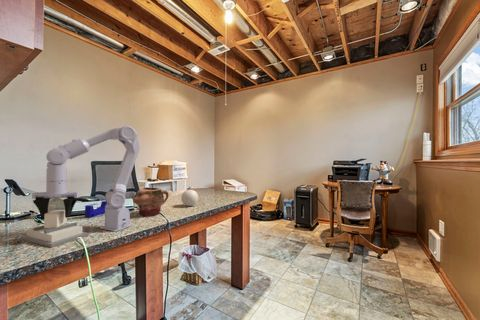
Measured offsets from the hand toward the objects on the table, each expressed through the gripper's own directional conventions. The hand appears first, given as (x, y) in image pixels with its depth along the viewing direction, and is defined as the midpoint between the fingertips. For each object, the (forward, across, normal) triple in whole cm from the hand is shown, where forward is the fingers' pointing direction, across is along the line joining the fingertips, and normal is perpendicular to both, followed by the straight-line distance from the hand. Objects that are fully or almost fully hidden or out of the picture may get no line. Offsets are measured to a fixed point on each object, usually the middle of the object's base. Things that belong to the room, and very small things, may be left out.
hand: (56, 217), depth 80 cm
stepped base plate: (+8, 0, 0) cm, 8 cm away
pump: (+3, 0, 0) cm, 3 cm away
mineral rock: (+8, +19, -33) cm, 39 cm away
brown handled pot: (+8, -28, -31) cm, 42 cm away
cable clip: (+8, 0, -32) cm, 33 cm away
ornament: (+8, -47, -48) cm, 68 cm away
